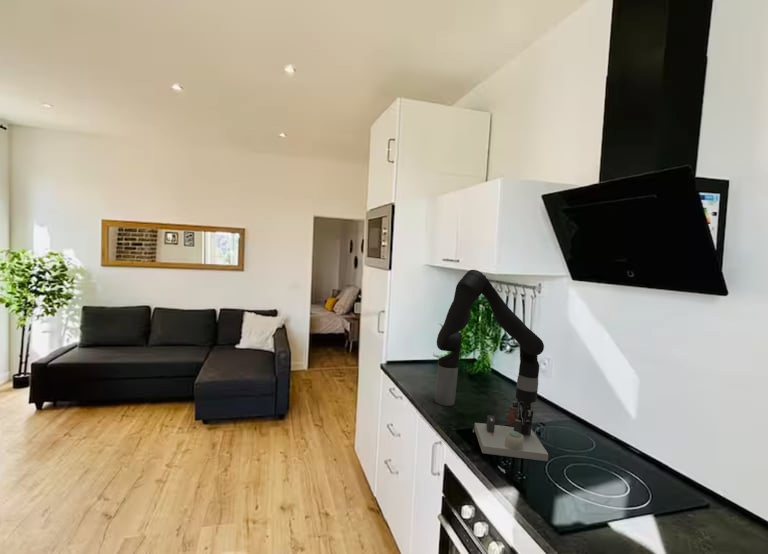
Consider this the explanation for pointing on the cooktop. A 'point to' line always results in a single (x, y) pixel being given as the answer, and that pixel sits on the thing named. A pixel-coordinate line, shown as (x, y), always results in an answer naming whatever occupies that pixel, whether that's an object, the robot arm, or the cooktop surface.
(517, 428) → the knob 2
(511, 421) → the lighter
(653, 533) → the cooktop surface
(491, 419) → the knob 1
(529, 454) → the base plate
